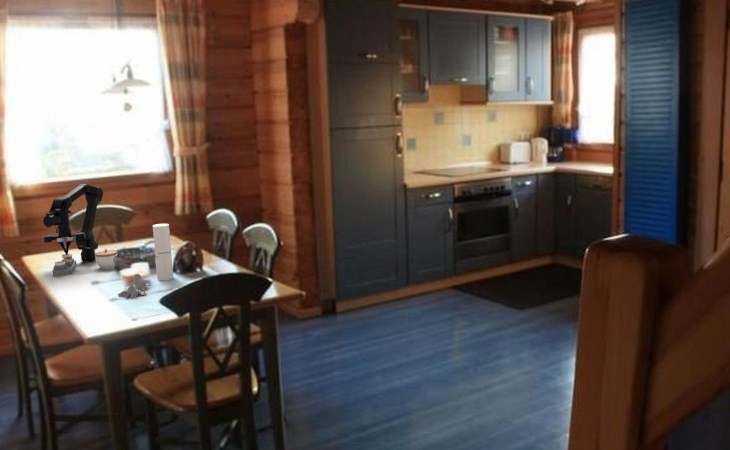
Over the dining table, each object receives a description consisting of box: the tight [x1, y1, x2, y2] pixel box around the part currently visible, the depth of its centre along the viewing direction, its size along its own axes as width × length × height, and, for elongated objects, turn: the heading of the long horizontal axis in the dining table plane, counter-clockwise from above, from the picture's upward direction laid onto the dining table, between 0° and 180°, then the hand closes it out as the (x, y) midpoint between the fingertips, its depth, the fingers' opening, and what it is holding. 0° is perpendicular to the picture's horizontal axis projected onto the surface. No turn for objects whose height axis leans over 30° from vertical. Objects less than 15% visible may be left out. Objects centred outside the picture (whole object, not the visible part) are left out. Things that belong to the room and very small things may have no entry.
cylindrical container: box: [152, 223, 174, 281], centre depth 323 cm, size 7×7×25 cm
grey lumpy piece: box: [117, 273, 151, 300], centre depth 302 cm, size 20×10×9 cm
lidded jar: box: [95, 248, 119, 270], centre depth 350 cm, size 11×11×9 cm
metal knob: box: [66, 256, 73, 266], centre depth 347 cm, size 3×3×4 cm
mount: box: [51, 258, 77, 277], centre depth 348 cm, size 9×21×4 cm, turn 17°
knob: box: [54, 260, 66, 267], centre depth 341 cm, size 5×5×6 cm
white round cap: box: [61, 253, 73, 261], centre depth 353 cm, size 5×5×6 cm
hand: (66, 254), depth 352 cm, fingers closed, pressing on white round cap
